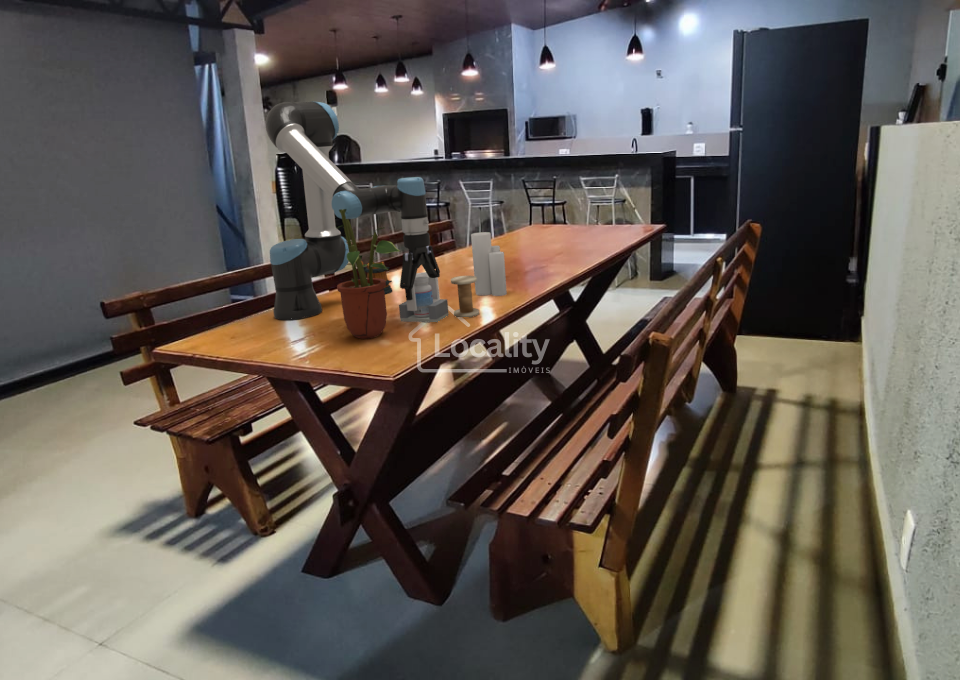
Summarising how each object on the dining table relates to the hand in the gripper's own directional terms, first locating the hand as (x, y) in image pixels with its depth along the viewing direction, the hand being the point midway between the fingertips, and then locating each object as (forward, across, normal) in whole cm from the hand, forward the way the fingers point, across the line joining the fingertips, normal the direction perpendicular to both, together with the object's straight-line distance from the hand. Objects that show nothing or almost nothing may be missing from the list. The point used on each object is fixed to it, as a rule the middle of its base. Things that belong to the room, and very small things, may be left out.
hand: (423, 304), depth 198 cm
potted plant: (+4, -17, +7) cm, 19 cm away
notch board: (+4, 0, 0) cm, 4 cm away
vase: (+4, +33, -8) cm, 34 cm away
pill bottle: (+3, 0, 0) cm, 3 cm away
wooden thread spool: (+4, +6, -11) cm, 13 cm away
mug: (+4, +12, +7) cm, 15 cm away
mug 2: (+4, +30, +36) cm, 47 cm away
